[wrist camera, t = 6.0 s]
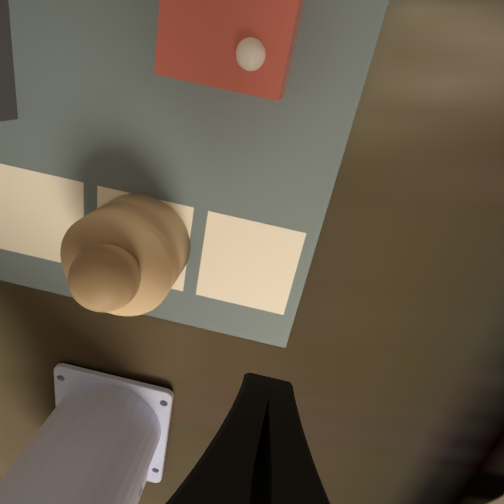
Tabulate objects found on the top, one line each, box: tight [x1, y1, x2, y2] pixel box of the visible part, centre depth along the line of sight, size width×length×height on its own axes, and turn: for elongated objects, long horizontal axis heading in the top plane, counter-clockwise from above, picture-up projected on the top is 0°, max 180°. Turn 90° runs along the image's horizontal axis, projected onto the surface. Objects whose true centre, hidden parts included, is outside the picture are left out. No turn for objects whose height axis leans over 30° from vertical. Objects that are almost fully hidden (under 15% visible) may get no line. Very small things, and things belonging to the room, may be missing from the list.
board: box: [0, 0, 389, 348], centre depth 16 cm, size 17×26×4 cm, turn 79°
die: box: [154, 0, 305, 101], centre depth 12 cm, size 4×4×4 cm
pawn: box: [60, 193, 190, 316], centre depth 16 cm, size 5×5×5 cm
